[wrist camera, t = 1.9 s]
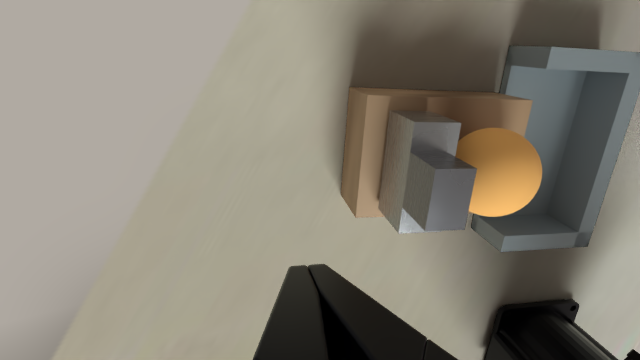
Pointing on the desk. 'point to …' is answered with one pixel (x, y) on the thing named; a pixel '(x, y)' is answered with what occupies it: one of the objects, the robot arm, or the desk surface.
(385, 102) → the tan block
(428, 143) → the gray zigzag block
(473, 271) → the desk surface
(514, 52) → the tray
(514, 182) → the ball
